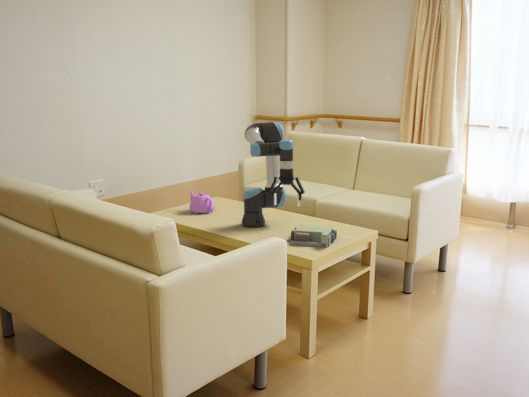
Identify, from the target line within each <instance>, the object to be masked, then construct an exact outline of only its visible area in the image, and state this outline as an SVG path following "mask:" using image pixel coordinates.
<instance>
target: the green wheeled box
mask: <svg viewBox="0 0 529 397" xmlns="http://www.w3.org/2000/svg"><path fill="white" fill-rule="evenodd" d="M296 233H311V242H304V241H294V240H295V234H296ZM337 235H338V232H337V229H334V227H330V226H317V225H316V226H315V225H314V226H313V225H299V226H297V227H294V229H293V230H291V232H290V239H291V240H290V245H291V244H298V245H297V246H305V245H307V247H321V248H328V247H330V246H331V244H332V243H334V242H335V240H337Z"/></svg>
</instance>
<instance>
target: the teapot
mask: <svg viewBox="0 0 529 397" xmlns="http://www.w3.org/2000/svg"><path fill="white" fill-rule="evenodd" d="M189 194H190V204H189V211H190V212H191V213H192V212H193V213H192V214H195V213H206V214H210V213H209V212H211V213H213V211H214V210H215V208H216V207H215V202H214V201H213V199H212V197H211V196H210V195H209V194H205V193H204V192H198V194H196V195H195V194H194V192H193V191H192V190H189Z"/></svg>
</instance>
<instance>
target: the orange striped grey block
mask: <svg viewBox="0 0 529 397" xmlns="http://www.w3.org/2000/svg"><path fill="white" fill-rule="evenodd" d="M295 241H304V242H311V233H296V234H295Z"/></svg>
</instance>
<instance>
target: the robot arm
mask: <svg viewBox="0 0 529 397" xmlns="http://www.w3.org/2000/svg"><path fill="white" fill-rule="evenodd" d="M244 138H245V139H246V140H245V141H247V142H248V143H249V144H250V147H249V151H250V152H249V153H250V156H251V157H256V158H258V157H265V167H266V168H265V171H266V172H265V173H266V185H265V186H264V189H262V187H252V188H248V189H246V190H244V192H243V215H242V219H241V226H242V227H246V228H259V227H260V228H261V227H264V226H265V225H266V218H265V216H264V213H263V209H271V208H274V209H275V208H276V209H277V208H282V207H284V206H285V203H286V199H287V193H286V192H287V191H286V188H284V186H285V185H287V186H291V187H292V188H293V190H295V191H296V193H297V194H296V195H297V196H296V197H297V198H296V199H297V200H296V201H297V202H296V203H297V204H296V205H297V207H300V205H301V202H300V201H302V196H303V195H304V194H305V193H306V191H305V190H304V187H303V185H302V183H301V181H300V178H299V176H294V168H293V167H294V143H293V140H291V139H284V130H283V126H282V124H281V123H280V122H275V121H274V122H271V121H270V122H255V123H253V124H250V125H248V127H246V129H245V131H244ZM294 181H295V182H296V184H297V185H296V184H295V183H294ZM283 185H284V186H283Z"/></svg>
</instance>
